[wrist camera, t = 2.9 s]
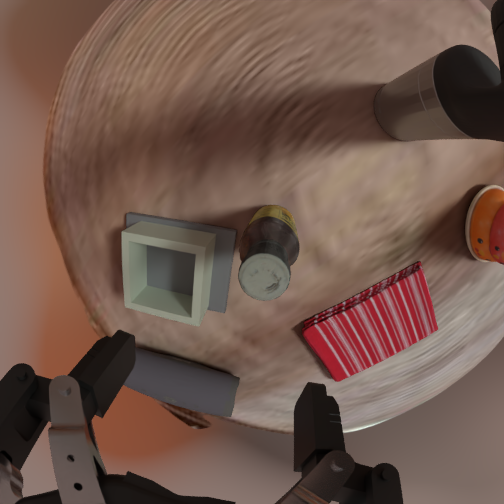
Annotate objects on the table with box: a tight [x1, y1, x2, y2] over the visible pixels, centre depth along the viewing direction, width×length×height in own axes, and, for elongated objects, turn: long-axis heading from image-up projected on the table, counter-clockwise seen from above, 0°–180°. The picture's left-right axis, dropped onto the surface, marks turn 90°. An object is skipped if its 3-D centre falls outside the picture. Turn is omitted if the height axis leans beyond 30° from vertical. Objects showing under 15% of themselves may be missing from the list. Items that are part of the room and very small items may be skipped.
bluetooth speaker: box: [123, 347, 240, 417], centre depth 46 cm, size 23×9×10 cm, turn 79°
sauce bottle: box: [238, 205, 299, 301], centre depth 30 cm, size 6×6×20 cm
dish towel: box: [302, 261, 438, 382], centre depth 43 cm, size 17×24×3 cm
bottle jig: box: [122, 212, 237, 326], centre depth 40 cm, size 18×14×7 cm
